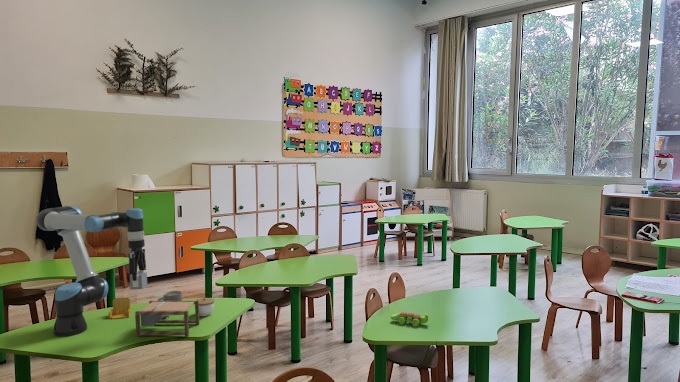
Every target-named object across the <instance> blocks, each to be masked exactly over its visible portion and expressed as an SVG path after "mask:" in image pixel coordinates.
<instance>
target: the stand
mask: <svg viewBox="0 0 680 382" xmlns="http://www.w3.org/2000/svg"><path fill="white" fill-rule="evenodd" d="M151 302H163V300H160V301H157V300H150V301H148V303H149V304H150V303H151ZM164 302H194V304H193V305H194V311H195V314H194V315H195V316H194V318H195V319H189V310H187V311H141V310H136V311H134V318H135V319H134V320H135V335H136V336H135V337H136V338H140V337H141V336H184V337H185V338H188V337H189V336H190V328H189V327H190V326H189V325H190V324H195V325H196V326H199V325H200V316H199V301H195V300H182V301H164ZM149 304H148V305H149ZM141 315H169V316H183V319H161V320H160V321H159V322H157V323H156V324H160V325H161V324H169V325H170V324H178V325H179V324H184V330H183V331H182V330H169V331H168V330H166V331H165V330H157V331H156V330H155V331H153V330H152V331H151V330H145V331H143V330H141ZM156 324H155V325H156Z"/></svg>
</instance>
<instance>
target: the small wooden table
mask: <svg viewBox="0 0 680 382" xmlns="http://www.w3.org/2000/svg"><path fill="white" fill-rule="evenodd" d="M162 301H163V300H162ZM193 305H195V304H194V302H164V301H163V302H151V303H150V304H147V305H146V306H145V307H144V308H142V309H141V310H140V311H189V309H190V308H191V307H192V306H193ZM164 318H165V317H164V315H140V327H154V326H155V325H156V323H157V322H159V321H160V320H163V319H164Z"/></svg>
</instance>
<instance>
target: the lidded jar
mask: <svg viewBox="0 0 680 382" xmlns="http://www.w3.org/2000/svg"><path fill="white" fill-rule="evenodd" d="M194 301H199V317H207V316H210V315H211V314H212V313H213V312H214V309H215V299H214V298H211V297H201V298H198V299H195V300H194Z"/></svg>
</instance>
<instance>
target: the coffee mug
mask: <svg viewBox="0 0 680 382" xmlns="http://www.w3.org/2000/svg"><path fill="white" fill-rule="evenodd" d="M182 293H183V292H182V290H181V291H180V290H169V291H165V292H164V293H163V296H160V297H159V298H157V300H156V301H183V294H182Z"/></svg>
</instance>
